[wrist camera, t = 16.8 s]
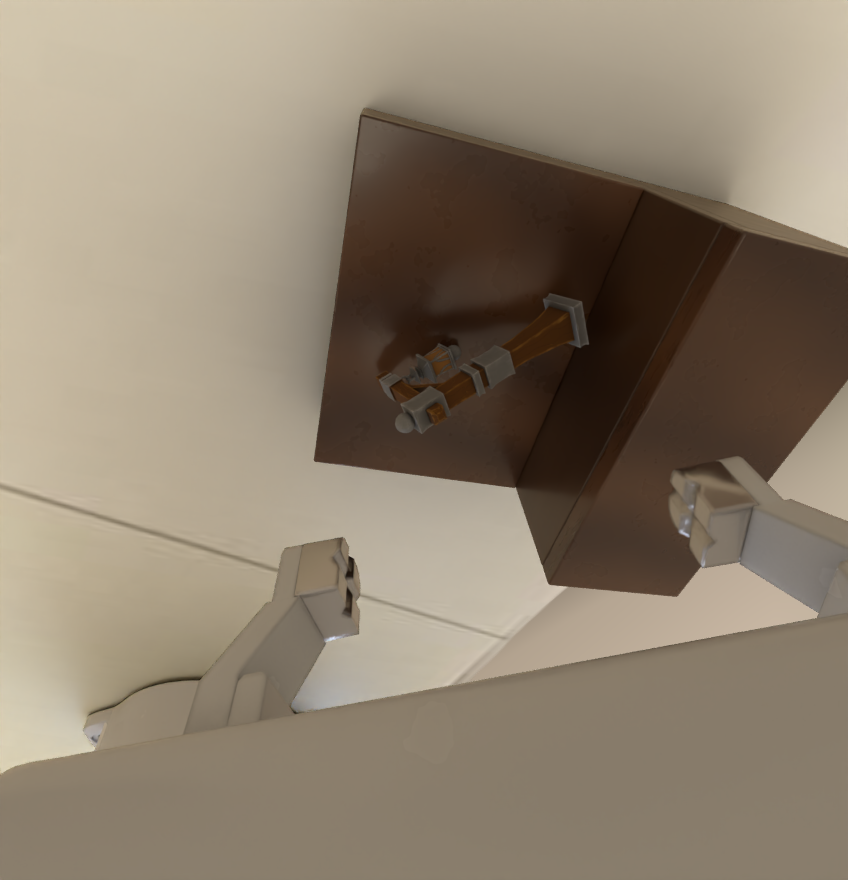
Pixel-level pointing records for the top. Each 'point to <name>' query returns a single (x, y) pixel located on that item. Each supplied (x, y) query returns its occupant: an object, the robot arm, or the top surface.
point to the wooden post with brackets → (480, 366)
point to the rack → (567, 366)
